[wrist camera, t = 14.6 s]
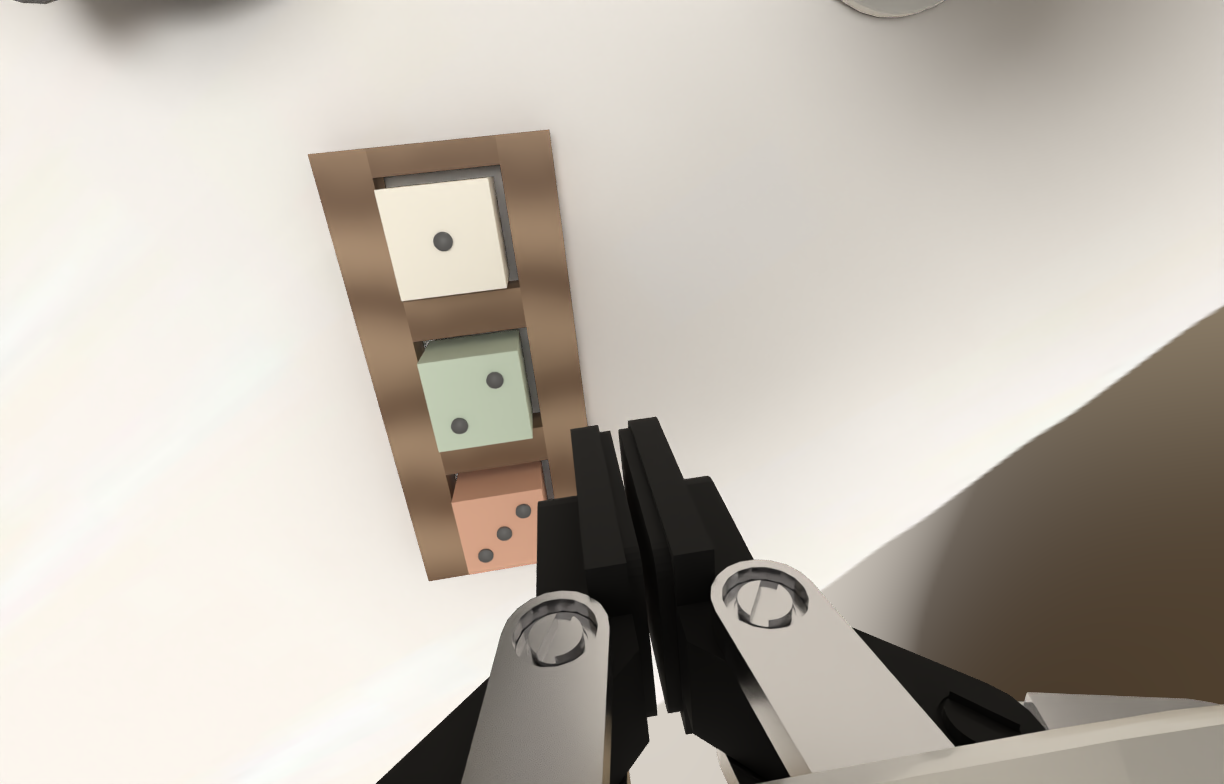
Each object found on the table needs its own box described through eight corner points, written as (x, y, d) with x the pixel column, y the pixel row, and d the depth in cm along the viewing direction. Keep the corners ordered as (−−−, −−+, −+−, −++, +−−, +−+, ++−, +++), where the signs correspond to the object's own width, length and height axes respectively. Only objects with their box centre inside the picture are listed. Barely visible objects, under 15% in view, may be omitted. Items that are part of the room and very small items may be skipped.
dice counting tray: (323, 155, 32) (307, 154, 30) (547, 131, 34) (549, 129, 31) (434, 559, 44) (428, 581, 41) (600, 531, 45) (603, 551, 42)
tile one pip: (393, 187, 33) (372, 190, 29) (492, 176, 34) (487, 178, 29) (416, 285, 35) (400, 302, 31) (509, 273, 36) (506, 288, 31)
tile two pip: (429, 341, 37) (416, 365, 32) (518, 329, 37) (517, 351, 33) (448, 421, 39) (438, 453, 35) (532, 409, 39) (532, 439, 35)
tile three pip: (459, 467, 40) (450, 504, 36) (540, 455, 41) (541, 490, 36) (475, 534, 43) (468, 576, 38) (551, 521, 43) (554, 562, 39)
